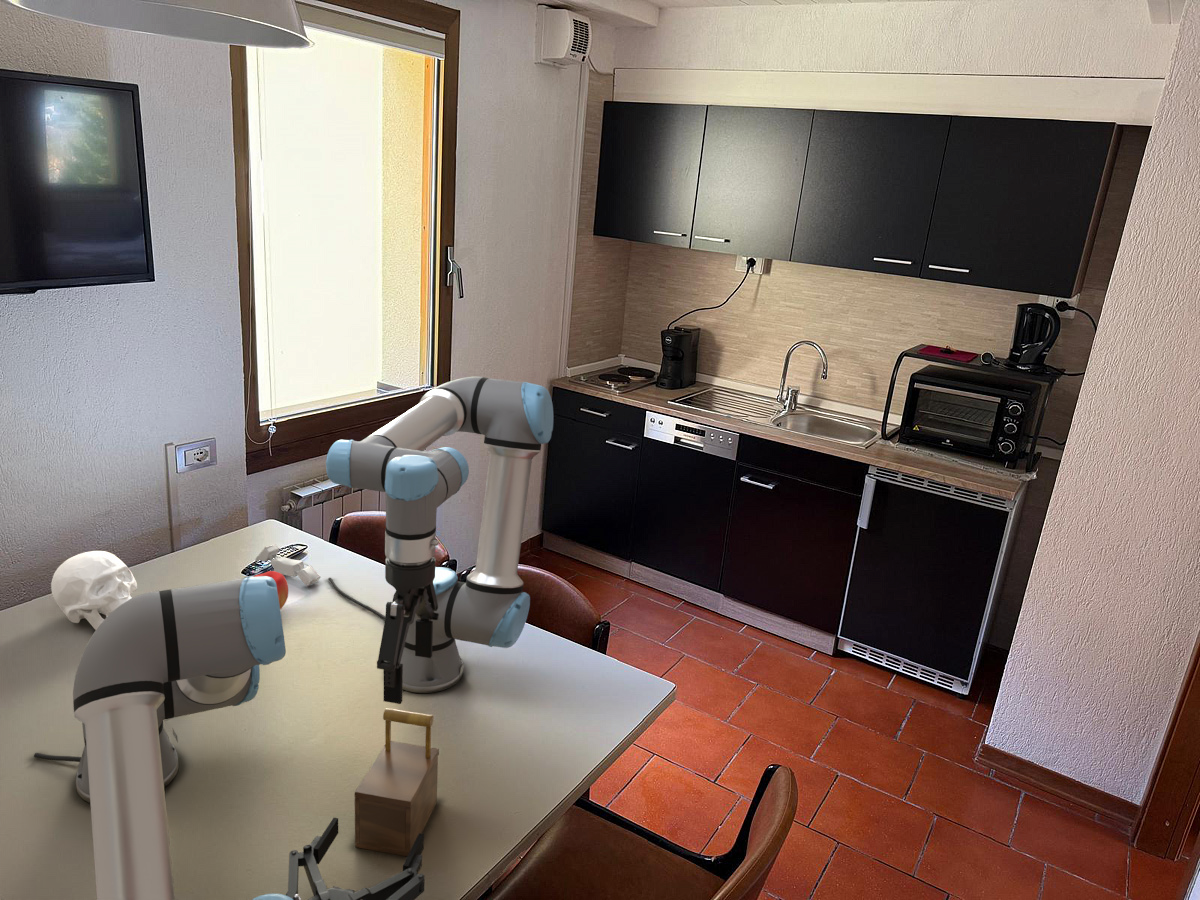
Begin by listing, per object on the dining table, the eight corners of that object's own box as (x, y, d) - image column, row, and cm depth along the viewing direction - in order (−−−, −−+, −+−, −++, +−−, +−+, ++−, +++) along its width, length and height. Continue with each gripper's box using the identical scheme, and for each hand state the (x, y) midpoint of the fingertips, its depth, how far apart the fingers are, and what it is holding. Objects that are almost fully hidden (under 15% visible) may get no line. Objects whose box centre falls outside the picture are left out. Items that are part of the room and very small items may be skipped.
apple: (273, 600, 207) (272, 562, 204) (297, 613, 202) (296, 575, 199) (237, 614, 200) (234, 575, 197) (261, 628, 194) (259, 588, 191)
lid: (387, 745, 144) (387, 699, 142) (439, 754, 143) (440, 708, 141) (354, 797, 132) (354, 748, 129) (410, 807, 131) (411, 758, 128)
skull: (118, 643, 184) (114, 575, 180) (38, 622, 190) (32, 556, 185) (165, 617, 196) (162, 554, 192) (89, 598, 202) (84, 536, 198)
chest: (386, 793, 147) (386, 747, 144) (436, 802, 146) (438, 756, 143) (354, 847, 135) (354, 798, 132) (410, 857, 133) (410, 807, 131)
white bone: (253, 565, 223) (254, 542, 221) (265, 560, 226) (266, 537, 224) (309, 593, 215) (310, 569, 213) (320, 588, 218) (321, 564, 216)
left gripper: (223, 953, 112) (301, 838, 132) (404, 991, 109) (456, 867, 129) (220, 908, 110) (300, 798, 130) (405, 945, 107) (458, 827, 127)
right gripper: (404, 596, 118) (402, 727, 125) (459, 529, 142) (455, 642, 148) (352, 588, 119) (353, 719, 126) (415, 523, 143) (414, 636, 149)
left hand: (378, 832), depth 130 cm, fingers open, 13 cm apart
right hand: (409, 677), depth 137 cm, fingers open, 13 cm apart
